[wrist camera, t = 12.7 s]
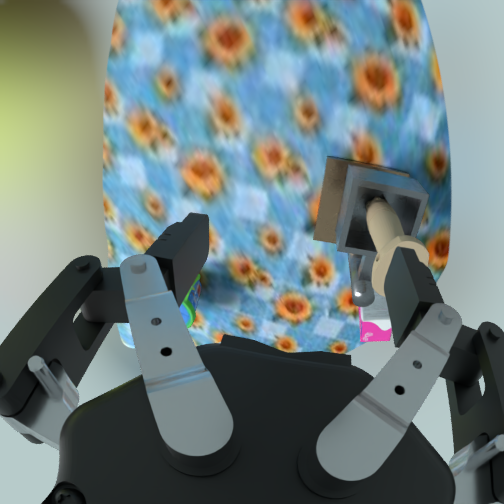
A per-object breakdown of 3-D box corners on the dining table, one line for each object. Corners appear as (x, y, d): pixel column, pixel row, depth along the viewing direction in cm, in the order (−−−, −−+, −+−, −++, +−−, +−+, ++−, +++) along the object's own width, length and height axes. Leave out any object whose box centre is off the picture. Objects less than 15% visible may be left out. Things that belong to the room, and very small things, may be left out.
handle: (402, 193, 36) (438, 253, 24) (381, 232, 40) (403, 303, 27) (370, 178, 36) (396, 233, 24) (351, 219, 40) (362, 288, 27)
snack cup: (186, 311, 72) (170, 342, 63) (152, 284, 69) (132, 312, 61) (225, 278, 64) (211, 311, 55) (186, 246, 61) (166, 275, 53)
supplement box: (358, 279, 58) (362, 320, 48) (386, 278, 56) (396, 318, 47) (356, 302, 60) (360, 343, 51) (384, 300, 59) (391, 341, 49)
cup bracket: (328, 145, 46) (334, 180, 31) (409, 162, 44) (450, 205, 29) (313, 236, 55) (309, 302, 40) (386, 248, 53) (405, 315, 38)
